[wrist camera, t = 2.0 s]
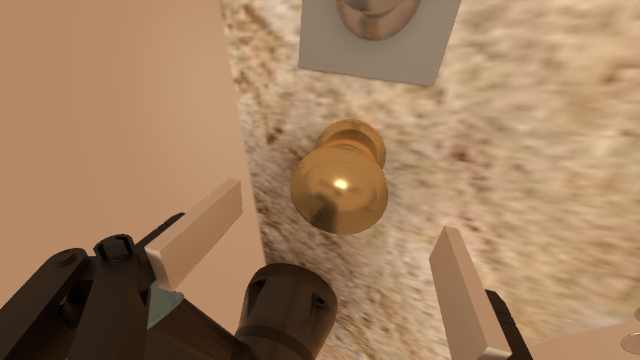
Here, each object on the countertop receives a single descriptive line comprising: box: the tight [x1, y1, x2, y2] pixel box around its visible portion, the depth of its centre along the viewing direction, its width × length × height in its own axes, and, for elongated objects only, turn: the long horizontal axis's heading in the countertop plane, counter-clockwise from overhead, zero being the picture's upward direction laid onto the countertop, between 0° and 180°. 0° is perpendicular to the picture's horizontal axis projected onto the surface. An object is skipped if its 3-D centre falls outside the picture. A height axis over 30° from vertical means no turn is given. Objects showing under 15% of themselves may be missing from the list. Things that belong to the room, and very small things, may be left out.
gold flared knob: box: [290, 120, 388, 234], centre depth 22 cm, size 8×8×9 cm
